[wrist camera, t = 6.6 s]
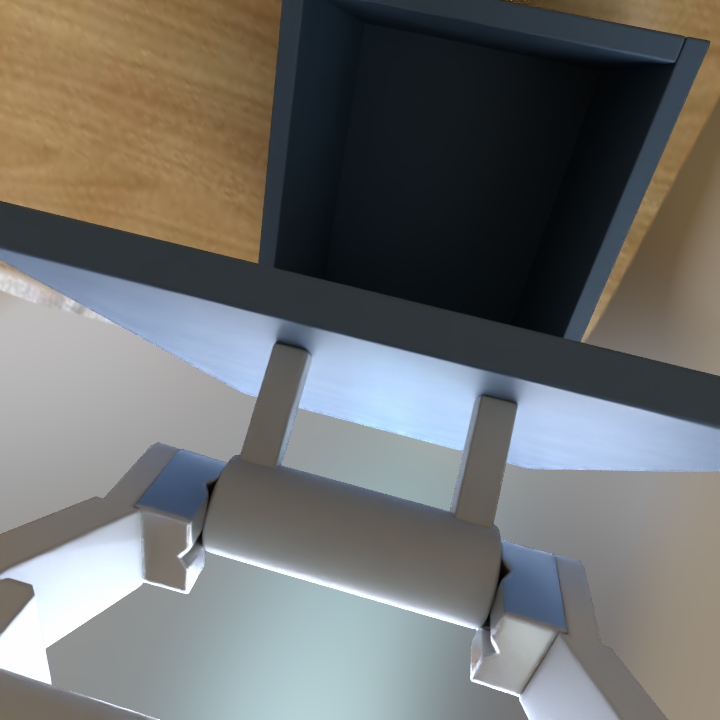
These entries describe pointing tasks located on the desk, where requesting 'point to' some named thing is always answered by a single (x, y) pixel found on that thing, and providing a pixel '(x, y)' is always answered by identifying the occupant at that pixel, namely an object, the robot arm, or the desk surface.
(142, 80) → the desk surface
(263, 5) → the desk surface
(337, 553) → the lid
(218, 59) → the desk surface
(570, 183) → the chest
